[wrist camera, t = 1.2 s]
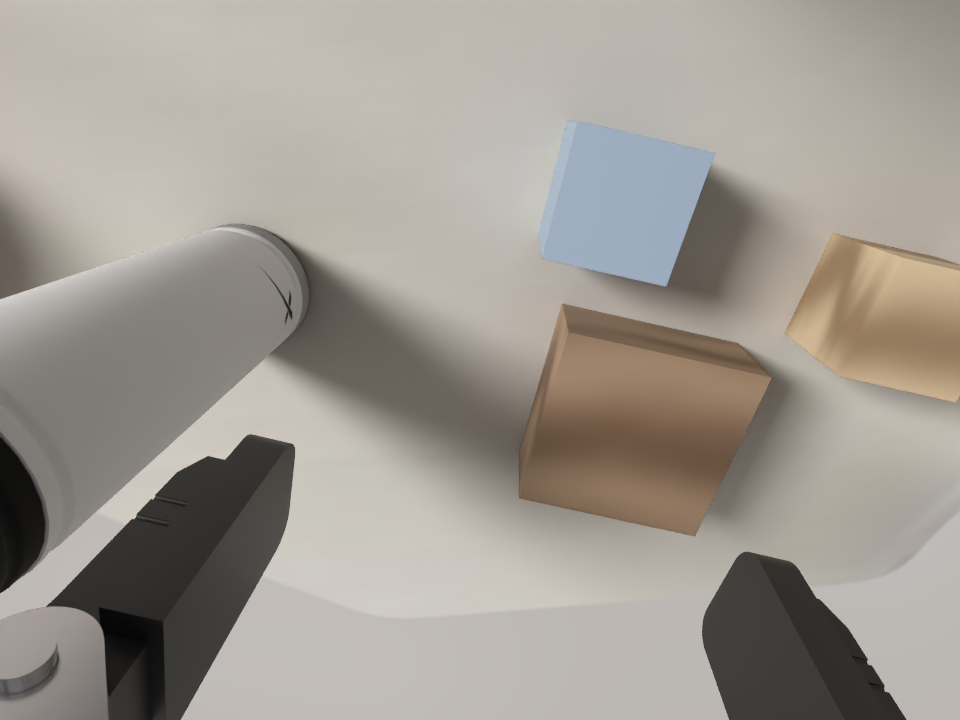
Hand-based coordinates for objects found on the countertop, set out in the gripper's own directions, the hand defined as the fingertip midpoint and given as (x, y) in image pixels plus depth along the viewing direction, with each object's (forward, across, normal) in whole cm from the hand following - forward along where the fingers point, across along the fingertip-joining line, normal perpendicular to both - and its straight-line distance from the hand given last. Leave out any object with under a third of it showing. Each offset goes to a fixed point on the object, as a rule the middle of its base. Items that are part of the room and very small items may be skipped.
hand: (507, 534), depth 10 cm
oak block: (+18, -16, -3) cm, 25 cm away
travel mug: (+18, +13, +4) cm, 23 cm away
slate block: (+18, -3, -4) cm, 19 cm away
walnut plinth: (+18, -7, +6) cm, 20 cm away
